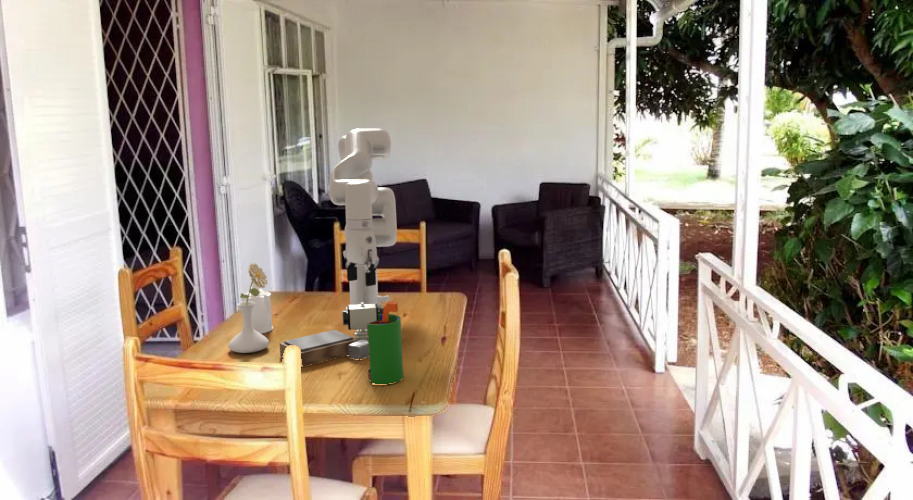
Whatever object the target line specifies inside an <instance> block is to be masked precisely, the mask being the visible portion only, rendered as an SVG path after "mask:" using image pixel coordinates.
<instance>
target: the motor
mask: <svg viewBox="0 0 913 500" xmlns="http://www.w3.org/2000/svg"><path fill="white" fill-rule="evenodd" d="M398 305H399V304H398V302H395V301H387V303H385V305H384V306H383V314H378V321H374V322H370V323H368V324H367V329H368V331H367V335H368V338H367V341H368V342H369V344H368V349H369V350H368V355H369V357H367V358H368V362H369V368H368V370H367V379H369V380H371V382H370V384H371V383H375V384H389V383H394V382H398V381H400V380H401V379H402V378H403V379H404V363H403V361H404V360H403V341H402V321H401V320H402V317H401V316H399V315H398V314H392V313H397V312H398V311H399V309H398V308H399V306H398ZM391 312H392V313H391ZM390 313H391V314H390ZM403 379H402V380H403ZM369 380H368V381H369ZM402 380H401V381H402ZM401 381H400V382H401ZM398 383H399V382H398Z"/></svg>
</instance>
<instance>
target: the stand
mask: <svg viewBox="0 0 913 500" xmlns="http://www.w3.org/2000/svg"><path fill="white" fill-rule="evenodd" d="M357 341H358V339H356V338H355V337H353V336H351V335H349V334H347V333H346V334H345V333H344V332H341V331H338V330H336V329H332V330H328V331H323V332H318V333H315V334H314V333H313V334H310V335H305V336H301V337H296V338H292V339H287V340H284V341H282V342H279V354H280V355H279V356H280V358H282V356H283V353H284V350H285V348H286V347H287V346H289V345H296V346H299V347H300V349H301V359H302V365H303V367H302V368H305V367H304V366H306V367H308V366H307V365H310V364H313V365H315V364H314V363H317V364H319V363H318V362H321V363H323V362H322V361H325V362H327V361H326V360H329V361H331V360H330V359H333V360H335V359H334V358H337V359H339V358H338V357H341V358H343V357H342V356H345V357H347V356H346V355H349V351H348V345H349V344H352V343H354V342H357ZM310 366H311V365H310Z"/></svg>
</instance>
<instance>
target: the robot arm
mask: <svg viewBox="0 0 913 500" xmlns="http://www.w3.org/2000/svg"><path fill="white" fill-rule="evenodd" d="M337 146H338V147H337V149H338V154H339V158H340V160H341V161H340V162H338V163H337V164H336V165H335V166H334V167H333V168H332V170H331V172H330V176H329V182H328V183H329V186H328V191H329V192H328V195H329V199H330V201H331V203H333V205H337V206H345V227H344V236H345V237H344V238H345V250H343V251H342V255H343V257H344V260H343V261H344V263H345V268H346V280H347V281H348V282H349V300H350V301H349V302H350V304H349V305H359V304H360V305H361V303H364V304H377V306H378V308H382V309H383V310H384V306H383V305H382V304H383V302H390V300H391V297H390V296H389V295H384V296H382V295H379V292H378V287H379V286H378V267H379V262H380V258H379V256H378V250H377V247H378V248H379V247H380V248H381V247H383V248H384V247H391V246H394V245H395V244H396V243H397V239H398V228H397V226H398V225H397V209H396V197H395V193H394V191H393V189H392V188H390V187H383V186H382V187H381V186H380V187H379V186H378V185H377V184H376V182H375V181H374V180H373V173H372V172H371V170H370V169H372V166H373V160H377V161H379V160H381V161H382V160H387V159H388V158H389V157H390V154H391V149H392V142H391V136H390V134H389V132H388V131H387V130H386V129H384V128H355V129H352V130H349V131H348V132H347V134H346V135H343V136H342V137H340V138H339V140H338V143H337ZM373 216H381V217H382V218H373ZM346 309H347V306H346V307H345V310H346Z"/></svg>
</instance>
